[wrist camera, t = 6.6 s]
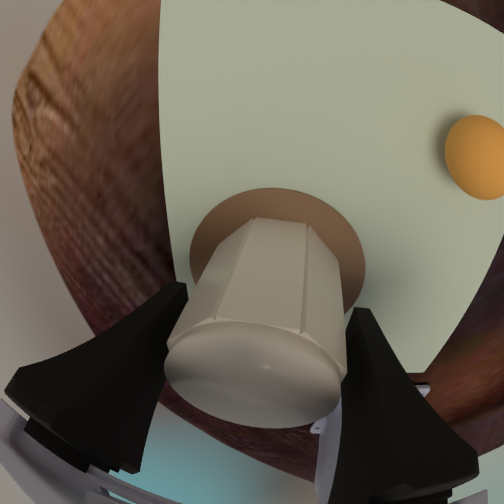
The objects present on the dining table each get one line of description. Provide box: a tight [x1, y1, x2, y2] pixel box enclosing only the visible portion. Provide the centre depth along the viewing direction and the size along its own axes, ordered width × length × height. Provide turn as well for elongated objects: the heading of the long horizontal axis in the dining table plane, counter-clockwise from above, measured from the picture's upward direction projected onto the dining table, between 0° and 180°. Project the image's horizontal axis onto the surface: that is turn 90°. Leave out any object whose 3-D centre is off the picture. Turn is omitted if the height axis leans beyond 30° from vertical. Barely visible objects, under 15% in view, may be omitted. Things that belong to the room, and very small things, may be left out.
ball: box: [445, 115, 504, 200], centre depth 7 cm, size 3×3×3 cm
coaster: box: [189, 188, 366, 314], centre depth 12 cm, size 8×8×1 cm
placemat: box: [159, 0, 504, 372], centre depth 11 cm, size 20×16×1 cm
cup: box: [164, 217, 347, 428], centre depth 10 cm, size 5×5×6 cm
